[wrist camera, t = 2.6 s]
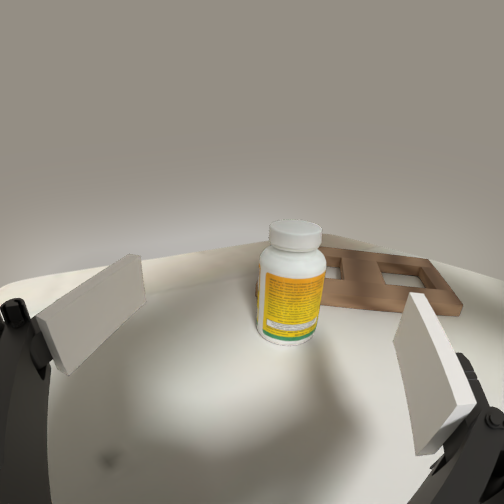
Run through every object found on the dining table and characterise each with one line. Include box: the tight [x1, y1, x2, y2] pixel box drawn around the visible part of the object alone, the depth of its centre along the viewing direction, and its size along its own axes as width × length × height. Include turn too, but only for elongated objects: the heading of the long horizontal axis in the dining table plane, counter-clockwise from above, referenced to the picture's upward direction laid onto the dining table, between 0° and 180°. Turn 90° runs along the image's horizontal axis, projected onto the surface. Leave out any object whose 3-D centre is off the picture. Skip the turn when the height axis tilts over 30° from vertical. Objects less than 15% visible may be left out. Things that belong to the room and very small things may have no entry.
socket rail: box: [255, 246, 463, 316], centre depth 34 cm, size 24×14×2 cm, turn 76°
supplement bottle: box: [256, 219, 326, 346], centre depth 23 cm, size 5×5×10 cm
